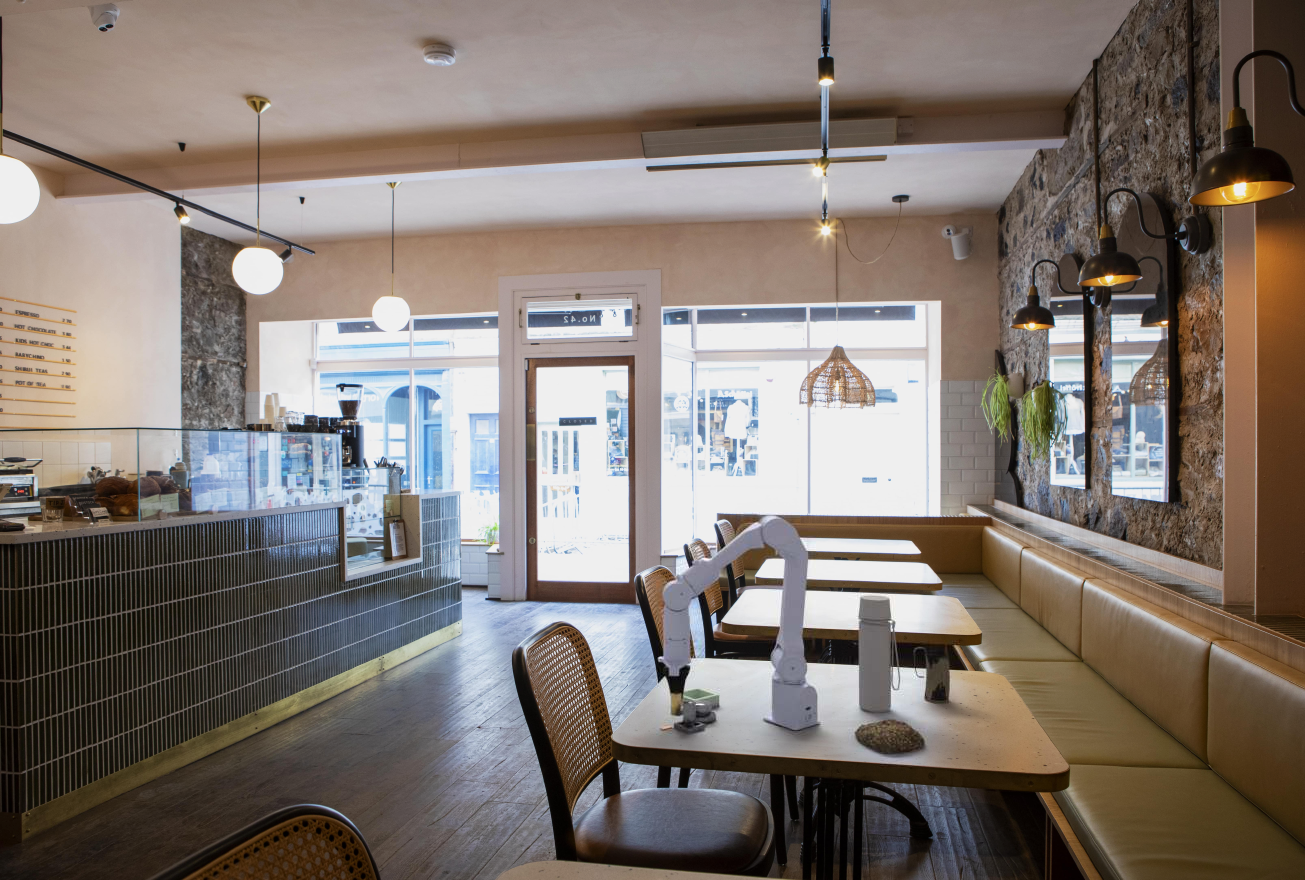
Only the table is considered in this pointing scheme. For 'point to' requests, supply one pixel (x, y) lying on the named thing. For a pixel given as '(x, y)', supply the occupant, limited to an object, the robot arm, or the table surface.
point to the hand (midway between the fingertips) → (677, 701)
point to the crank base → (699, 724)
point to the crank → (677, 710)
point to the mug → (936, 676)
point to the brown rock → (890, 737)
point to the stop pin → (689, 714)
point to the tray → (701, 696)
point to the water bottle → (875, 654)
